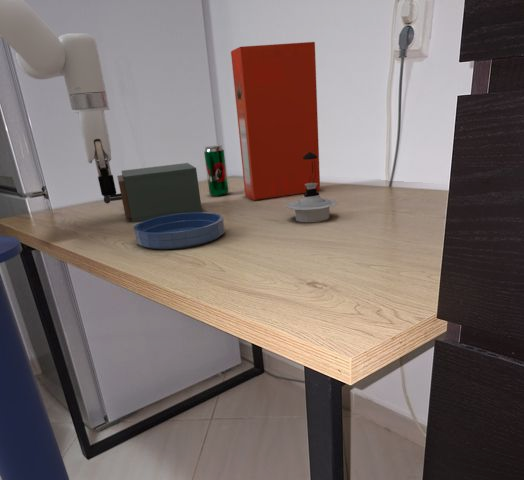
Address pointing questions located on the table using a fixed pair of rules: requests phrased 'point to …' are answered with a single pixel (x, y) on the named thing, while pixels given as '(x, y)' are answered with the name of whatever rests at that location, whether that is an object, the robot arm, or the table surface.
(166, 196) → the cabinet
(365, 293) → the table surface
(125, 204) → the drawer
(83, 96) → the robot arm
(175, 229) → the bowl
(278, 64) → the file binder
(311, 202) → the oil lamp
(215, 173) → the soda can
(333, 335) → the table surface
